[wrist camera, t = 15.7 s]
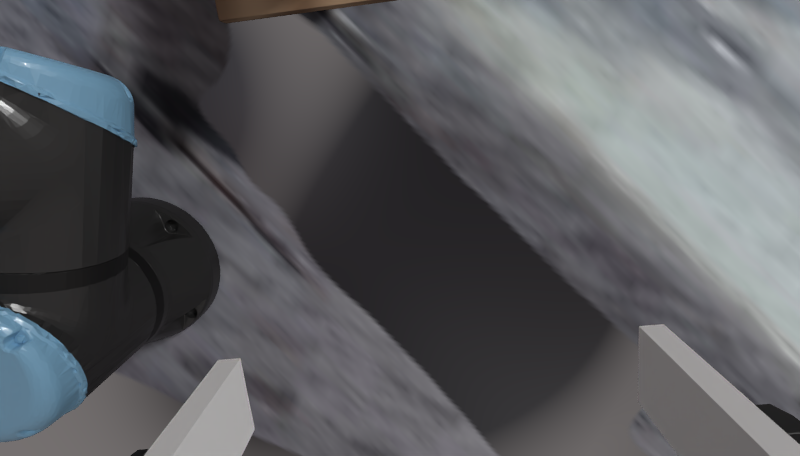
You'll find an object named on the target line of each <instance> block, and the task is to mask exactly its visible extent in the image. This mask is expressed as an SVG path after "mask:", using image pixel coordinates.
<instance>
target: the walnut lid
mask: <svg viewBox="0 0 800 456" xmlns="http://www.w3.org/2000/svg"><path fill="white" fill-rule="evenodd" d="M388 1H395V0H215V2H216V7H217V12H218V18H219V21H221V22H224V23H232V22H240V21H247V20H255V19H262V18H269V17H277V16H284V15H292V14H299V13H306V12H314V11H321V10H329V9H336V8H344V7H351V6H358V5H366V4H373V3H381V2H388Z"/></svg>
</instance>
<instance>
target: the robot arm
mask: <svg viewBox="0 0 800 456" xmlns="http://www.w3.org/2000/svg"><path fill="white" fill-rule="evenodd" d="M134 147H137V140H136V138H135V137H134V101H133V97H132V94H131V93H130V91H129V90H128V88H127V87H126V86H125V85H124V84H123V83H122V82H121V81H119V80H118V79H116V78H114V77H111V76H108V75H105V74H102V73H99V72H96V71H92V70H89V69H85V68H82V67H78V66H75V65H71V64H67V63H64V62H60V61H57V60H53V59H49V58H45V57H42V56H38V55H34V54H30V53H27V52H23V51H19V50H15V49H11V48H7V47H2V46H0V442H9V441H16V440H20V439H23V438H27V437H30V436H32V435H35V434H37V433H39V432H41V431H43V430H44V429H46V428H47V427H48V426H50V425H51V424H52V423H54V422H55V421H56V420H58V419H59V418H60V417H61V416H63V415H64V414H66V413H68V412H70V411H72V410H74V409H76V408H77V407H78V406H79V405H80V404H81V403H82V402H83V401H84V399H85V398H86V397H87V396H88V395H89V394H90V393H91V392H93V391H94V390H95V389H96V388H97V387H98V386H99V385H100V384H101V383H102V382H103V381H104V380H106V379H107V378H108V377H109V376H110V375H111V374H112V373H113V372H114V371H116V370H117V369H118V368H119V367H120V366H121V365H122V364H123V363H124V362H125V361H127V360H128V359H129V358H130V357H131V356H132V355H133V354H134V353H135V352H136V351H137V350H139V349H140V348H141V347H142V346H143V345H144V344H145V343H149V342H152V341H155V340H159V339H162V338H166V337H169V336H172V335H175V334H177V333H179V332H181V331H183V330H185V329H186V328H188V327H189V326H191V325H192V324H193V323H194V322H195V321H196V320H198V319H199V318H200V317H201V316H202V315H203V314H204V313H205V312H206V310H207V309H208V308H209V307H210V305H211V304H212V302H213V300H214V298H215V296H216V294H217V290H218V287H219V281H220V265H219V259H218V255H217V252H216V249H215V247H214V244H213V242H212V240H211V239H210V237H209V235H208V234H207V232H206V231H205V230H204V228H203V227H202V226H201V225H200V224H199V223H198V222H197V221H196V220H195V219H194V218H193V217H192V216H191V215H189V214H188V213H187V212H185V211H184V210H182V209H180V208H179V207H177V206H175V205H173V204H170V203H168V202H165V201H162V200H158V199H152V198H131V196H132V173H133V151H134ZM638 403H639V404H640V405H641V406H642V408H643V409H644V411H645V412H646V413H647V415H648V416H649V417H650V419H651V420H652V421H653V423H654V424H655V425H656V427H657V428H658V429H659V431H660V432H661V433H662V435H663V436H664V437H665V439H666V440H667V441H668V443H669V444H670V445H671V447H672V448H673V449H674V451H675V452H676V453H677V455H678V456H800V421H799V420H798V419H797V418H795V417H794V416H793V415H791V414H789V413H787V412H785V411H783V410H781V409H779V408H777V407H775V406H773V405H771V404H763V405H754V404H753V403H752V402H751V401H750V400H749V399H748V398H746V397H745V396H744V395H743V394H742V393H741V392H740V391H738V390H737V389H736V388H735V387H734V386H733V385H732V384H731V383H729V382H728V381H727V380H726V379H725V378H724V377H723V376H722V375H720V374H719V373H718V372H717V371H716V370H715V369H714V368H712V367H711V366H710V365H709V364H708V363H707V362H706V361H705V360H703V359H702V358H701V357H700V356H699V355H698V354H697V353H695V352H694V351H693V350H692V349H691V348H690V347H689V346H688V345H686V344H685V343H684V342H683V341H682V340H681V339H680V338H678V337H677V336H676V335H675V334H674V333H673V332H672V331H671V330H669V329H668V328H667V327H666V326H665V325H664V324H661V325H649V326H639V367H638ZM254 430H255V428H254V423H253V418H252V413H251V408H250V403H249V399H248V394H247V389H246V384H245V379H244V374H243V369H242V364H241V359H240V358H238V359H226V360H218V361H217V362H216V363H215V365H214V366H213V367H212V369H211V370H210V371H209V372H208V374H207V375H206V376H205V378H204V379H203V380H202V381H201V383H200V384H199V385H198V387H197V388H196V389H195V391H194V392H193V393H192V394H191V396H190V397H189V398H188V400H187V401H186V402H185V403H184V405H183V406H182V407H181V409H180V410H179V411H178V412H177V414H176V415H175V416H174V418H173V419H172V420H171V421H170V423H169V424H168V425H167V427H166V428H165V429H164V430H163V432H162V433H161V434H160V436H159V437H158V438H157V439H156V441H155V442H154V443H153V445H152V446H151V447H150V448H149V449H145V450H137V451H136V452H135V453H133V454H132V455H131V456H242V454H243V452H244V450H245V448H246V446H247V444H248V442H249V440H250V438H251V436H252V434H253V432H254Z"/></svg>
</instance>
